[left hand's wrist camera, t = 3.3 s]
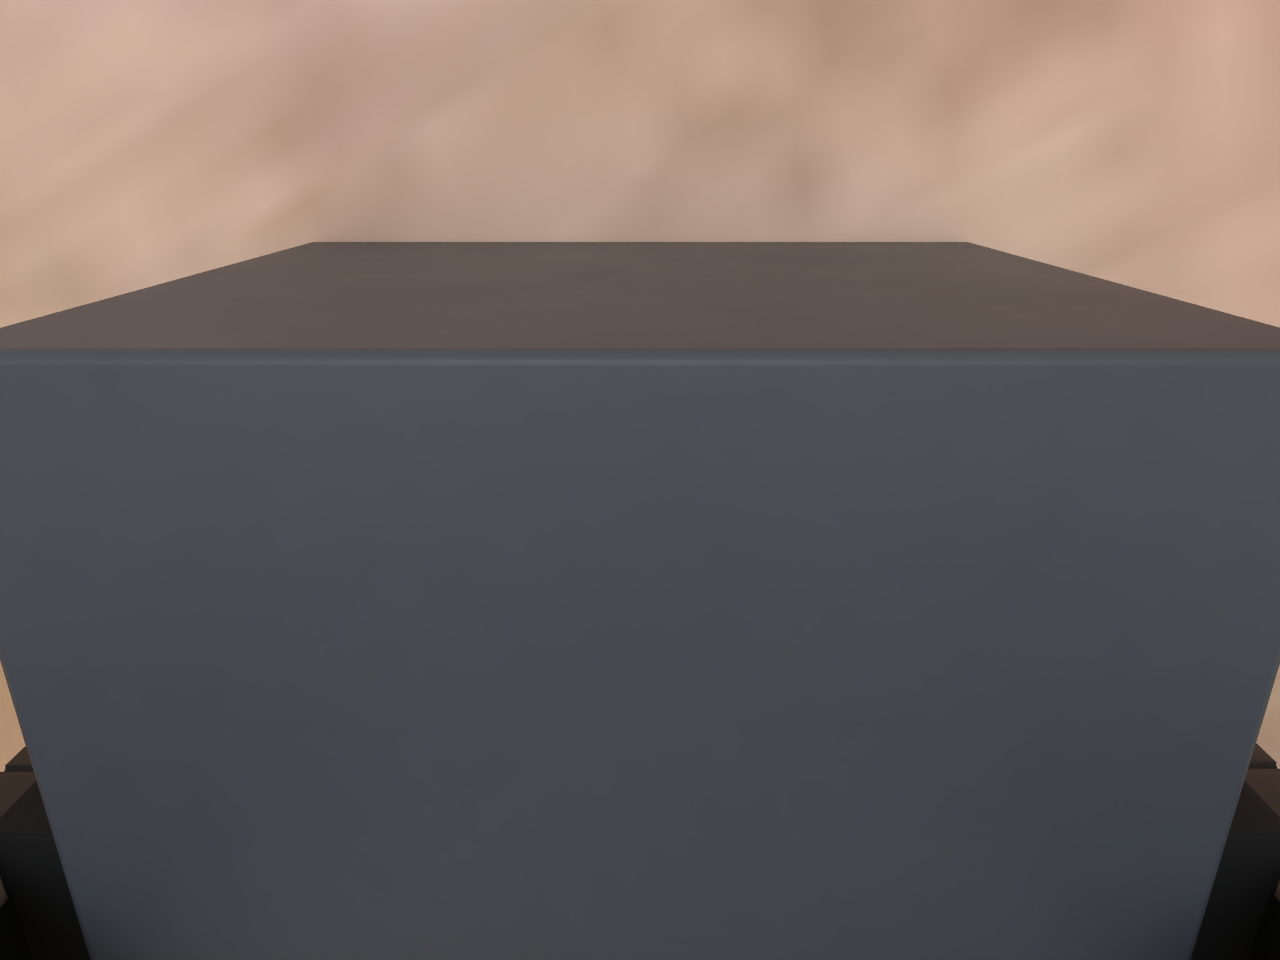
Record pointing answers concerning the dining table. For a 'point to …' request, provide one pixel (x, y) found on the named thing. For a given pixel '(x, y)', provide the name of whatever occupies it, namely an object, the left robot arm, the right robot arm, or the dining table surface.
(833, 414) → the thick board
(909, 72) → the dining table surface
